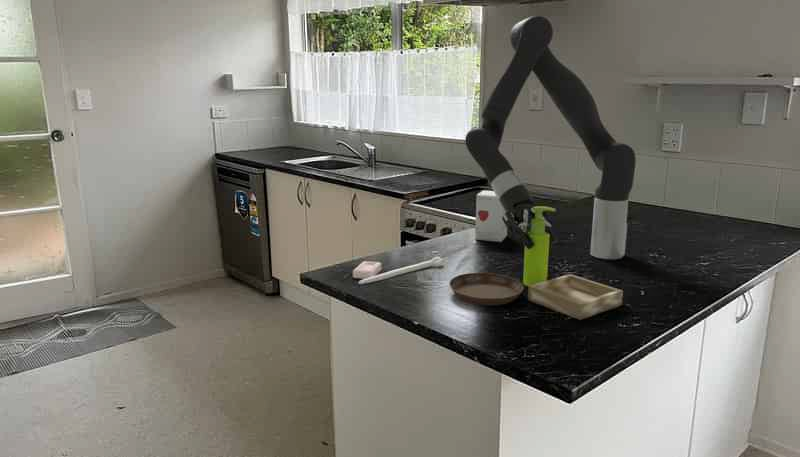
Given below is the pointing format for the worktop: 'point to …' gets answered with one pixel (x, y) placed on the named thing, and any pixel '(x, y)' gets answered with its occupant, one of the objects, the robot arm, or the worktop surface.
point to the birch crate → (575, 296)
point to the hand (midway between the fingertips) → (543, 244)
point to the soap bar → (367, 270)
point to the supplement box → (489, 217)
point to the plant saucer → (486, 288)
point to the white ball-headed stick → (404, 270)
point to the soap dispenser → (537, 250)
